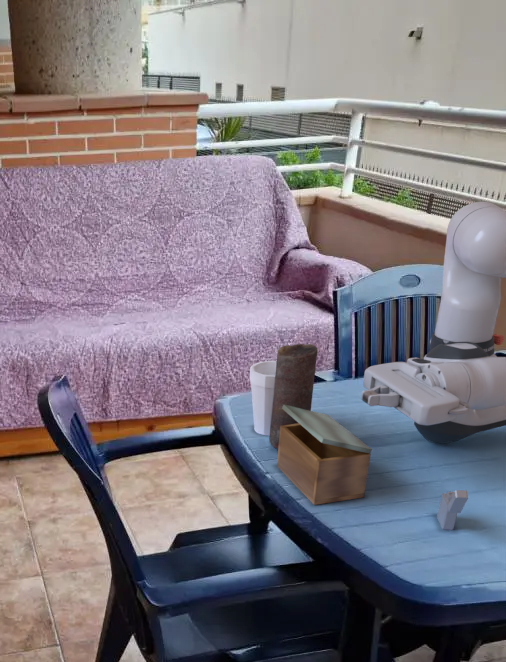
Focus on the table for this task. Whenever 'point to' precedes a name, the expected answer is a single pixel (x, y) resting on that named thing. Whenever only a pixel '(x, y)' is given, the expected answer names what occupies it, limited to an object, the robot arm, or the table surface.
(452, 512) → the lighter
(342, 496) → the box
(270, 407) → the foam cup
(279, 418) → the dark brown rough cylinder
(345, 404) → the table surface
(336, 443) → the pale green flat panel
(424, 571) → the table surface
